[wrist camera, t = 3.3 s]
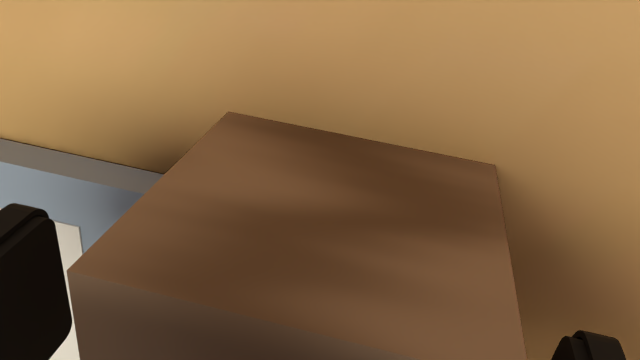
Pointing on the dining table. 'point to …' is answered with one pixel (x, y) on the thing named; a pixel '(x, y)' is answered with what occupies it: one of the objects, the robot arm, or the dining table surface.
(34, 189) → the blueprint board
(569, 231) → the dining table surface
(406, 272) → the walnut block
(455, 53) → the dining table surface
